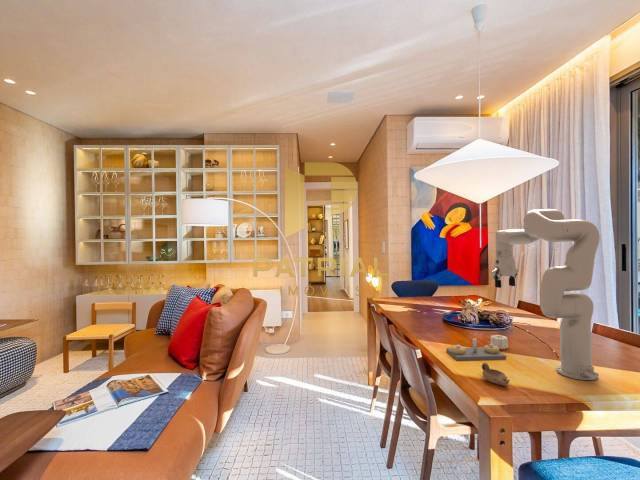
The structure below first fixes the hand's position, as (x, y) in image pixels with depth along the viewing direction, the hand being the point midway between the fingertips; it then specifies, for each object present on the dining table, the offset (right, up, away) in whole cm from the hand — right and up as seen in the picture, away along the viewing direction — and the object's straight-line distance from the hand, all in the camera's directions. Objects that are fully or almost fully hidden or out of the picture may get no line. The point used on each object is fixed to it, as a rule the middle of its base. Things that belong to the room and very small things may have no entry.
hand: (505, 286), depth 168 cm
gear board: (-25, -29, -19) cm, 43 cm away
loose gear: (-8, -28, -10) cm, 31 cm away
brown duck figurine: (-31, -29, -46) cm, 63 cm away
